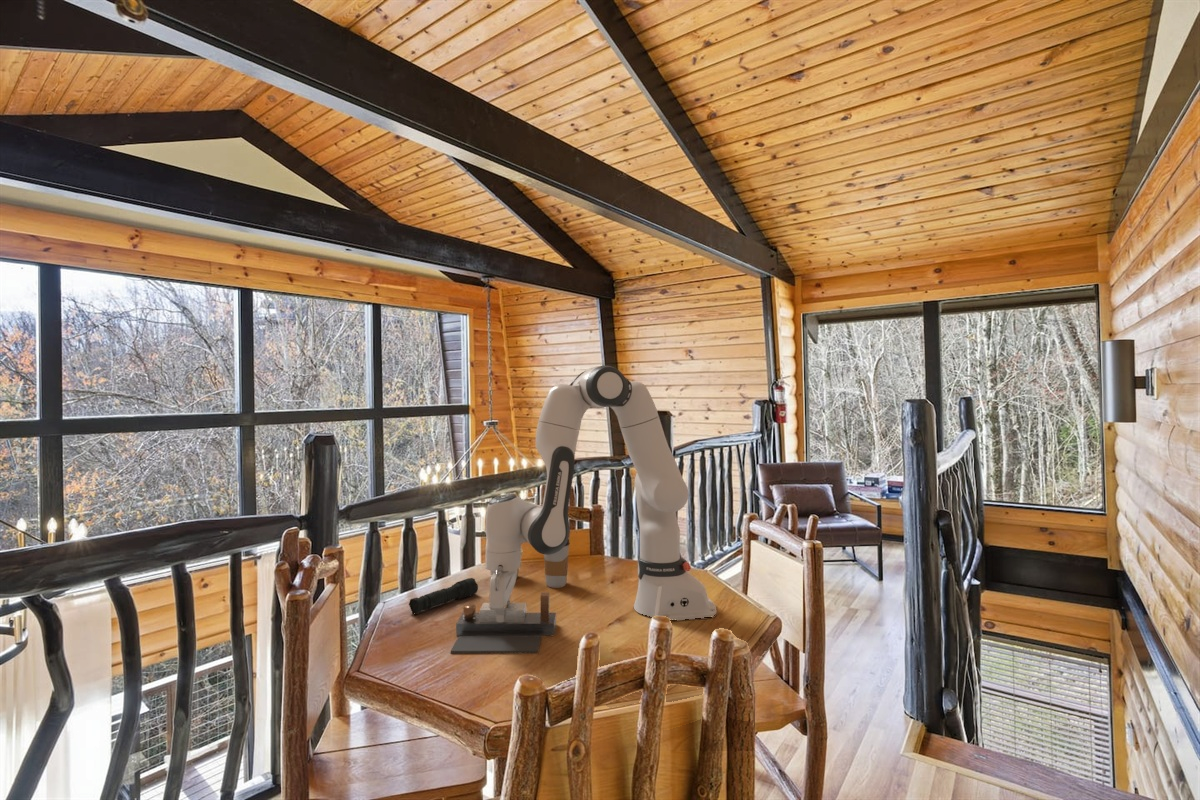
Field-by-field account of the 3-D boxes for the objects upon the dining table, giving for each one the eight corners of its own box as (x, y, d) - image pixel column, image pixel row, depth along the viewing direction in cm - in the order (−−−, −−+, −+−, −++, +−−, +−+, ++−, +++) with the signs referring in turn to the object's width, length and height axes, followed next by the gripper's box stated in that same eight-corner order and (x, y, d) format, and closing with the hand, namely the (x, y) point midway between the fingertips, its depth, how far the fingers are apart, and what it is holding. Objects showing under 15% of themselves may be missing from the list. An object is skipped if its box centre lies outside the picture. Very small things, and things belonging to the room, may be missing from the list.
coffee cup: (565, 590, 174) (565, 540, 174) (539, 588, 176) (539, 539, 176) (572, 581, 183) (572, 534, 182) (547, 579, 184) (547, 532, 184)
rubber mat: (541, 638, 140) (541, 635, 140) (537, 653, 132) (537, 650, 132) (458, 638, 140) (458, 636, 140) (450, 653, 132) (450, 650, 132)
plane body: (555, 624, 149) (555, 589, 149) (553, 635, 142) (553, 599, 142) (462, 624, 149) (462, 589, 149) (456, 635, 142) (456, 599, 142)
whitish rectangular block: (526, 614, 148) (526, 602, 148) (523, 622, 143) (523, 609, 143) (483, 614, 148) (483, 602, 148) (479, 622, 143) (479, 610, 143)
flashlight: (478, 595, 170) (478, 579, 170) (419, 618, 154) (419, 599, 153) (467, 592, 173) (467, 575, 173) (407, 613, 156) (407, 595, 156)
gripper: (509, 572, 135) (509, 631, 135) (520, 548, 155) (521, 599, 155) (482, 572, 135) (482, 631, 135) (497, 548, 155) (497, 600, 155)
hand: (503, 614), depth 145 cm, fingers open, 7 cm apart
